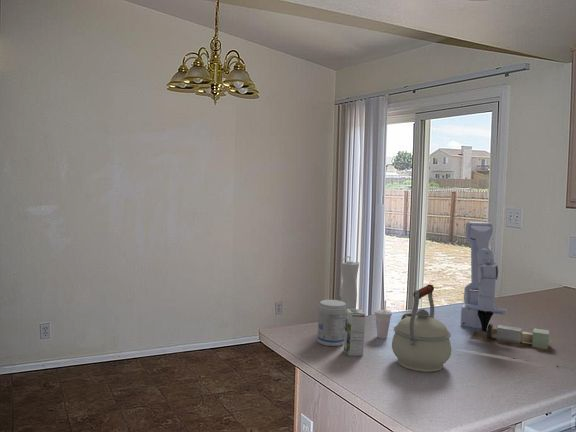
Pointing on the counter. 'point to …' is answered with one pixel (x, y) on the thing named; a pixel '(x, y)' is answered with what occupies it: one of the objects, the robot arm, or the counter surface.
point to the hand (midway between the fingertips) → (484, 330)
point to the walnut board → (483, 337)
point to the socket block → (540, 338)
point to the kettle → (422, 338)
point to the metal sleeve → (509, 334)
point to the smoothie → (382, 322)
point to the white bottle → (349, 283)
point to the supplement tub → (331, 322)
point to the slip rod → (524, 338)
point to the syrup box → (354, 332)
